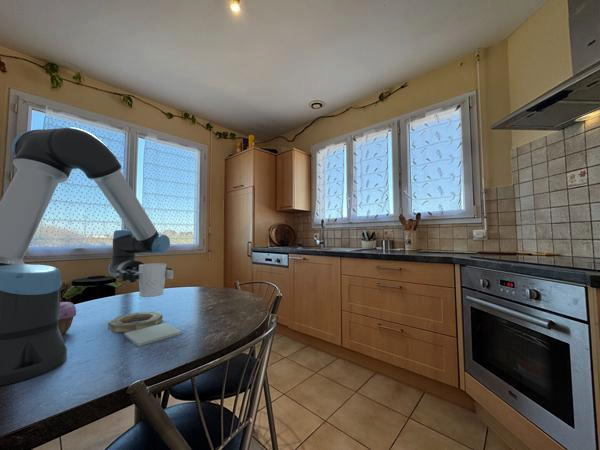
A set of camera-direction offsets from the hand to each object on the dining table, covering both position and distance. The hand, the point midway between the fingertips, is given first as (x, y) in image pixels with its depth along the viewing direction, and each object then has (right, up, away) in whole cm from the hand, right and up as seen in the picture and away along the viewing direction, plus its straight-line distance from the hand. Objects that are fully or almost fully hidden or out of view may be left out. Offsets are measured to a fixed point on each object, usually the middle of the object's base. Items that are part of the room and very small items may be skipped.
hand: (158, 276), depth 79 cm
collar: (-12, -18, +7) cm, 23 cm away
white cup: (-4, -7, +3) cm, 8 cm away
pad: (-1, -18, -2) cm, 18 cm away
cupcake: (-31, -18, -2) cm, 36 cm away
